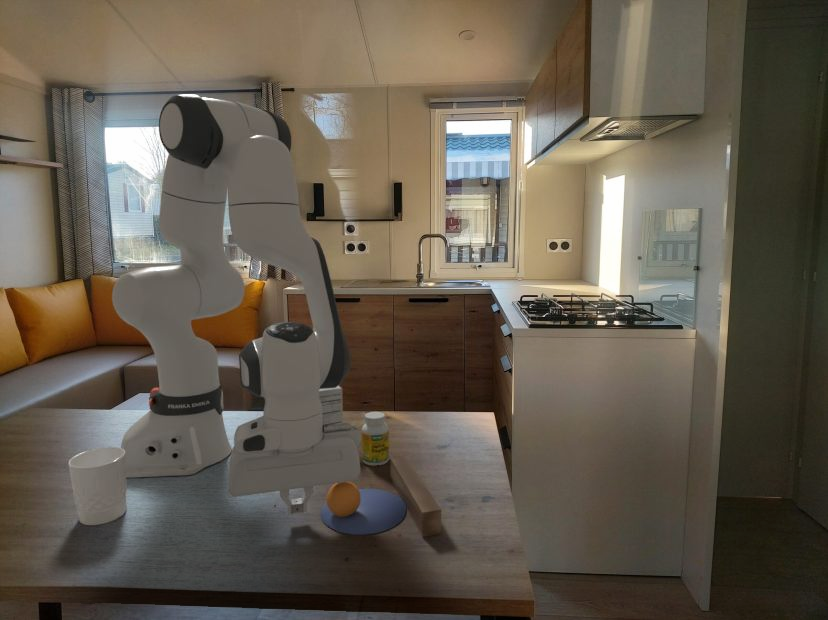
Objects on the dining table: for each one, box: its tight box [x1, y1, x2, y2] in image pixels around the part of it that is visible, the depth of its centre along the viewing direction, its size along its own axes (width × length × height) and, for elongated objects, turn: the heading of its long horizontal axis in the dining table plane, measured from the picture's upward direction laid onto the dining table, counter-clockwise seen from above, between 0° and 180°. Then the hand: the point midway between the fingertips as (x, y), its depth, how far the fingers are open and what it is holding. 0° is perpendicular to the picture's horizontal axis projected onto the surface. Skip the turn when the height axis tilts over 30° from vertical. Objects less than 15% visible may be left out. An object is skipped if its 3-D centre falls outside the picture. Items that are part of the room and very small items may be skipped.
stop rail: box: [389, 455, 442, 538], centre depth 90 cm, size 3×20×4 cm, turn 17°
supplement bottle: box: [361, 411, 390, 467], centre depth 106 cm, size 5×5×10 cm
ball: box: [325, 481, 361, 517], centre depth 87 cm, size 6×6×6 cm
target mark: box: [320, 488, 407, 536], centre depth 88 cm, size 14×14×1 cm
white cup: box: [67, 446, 128, 526], centre depth 87 cm, size 8×8×10 cm
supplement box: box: [319, 385, 344, 425], centre depth 116 cm, size 7×7×13 cm
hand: (297, 511), depth 85 cm, fingers closed
